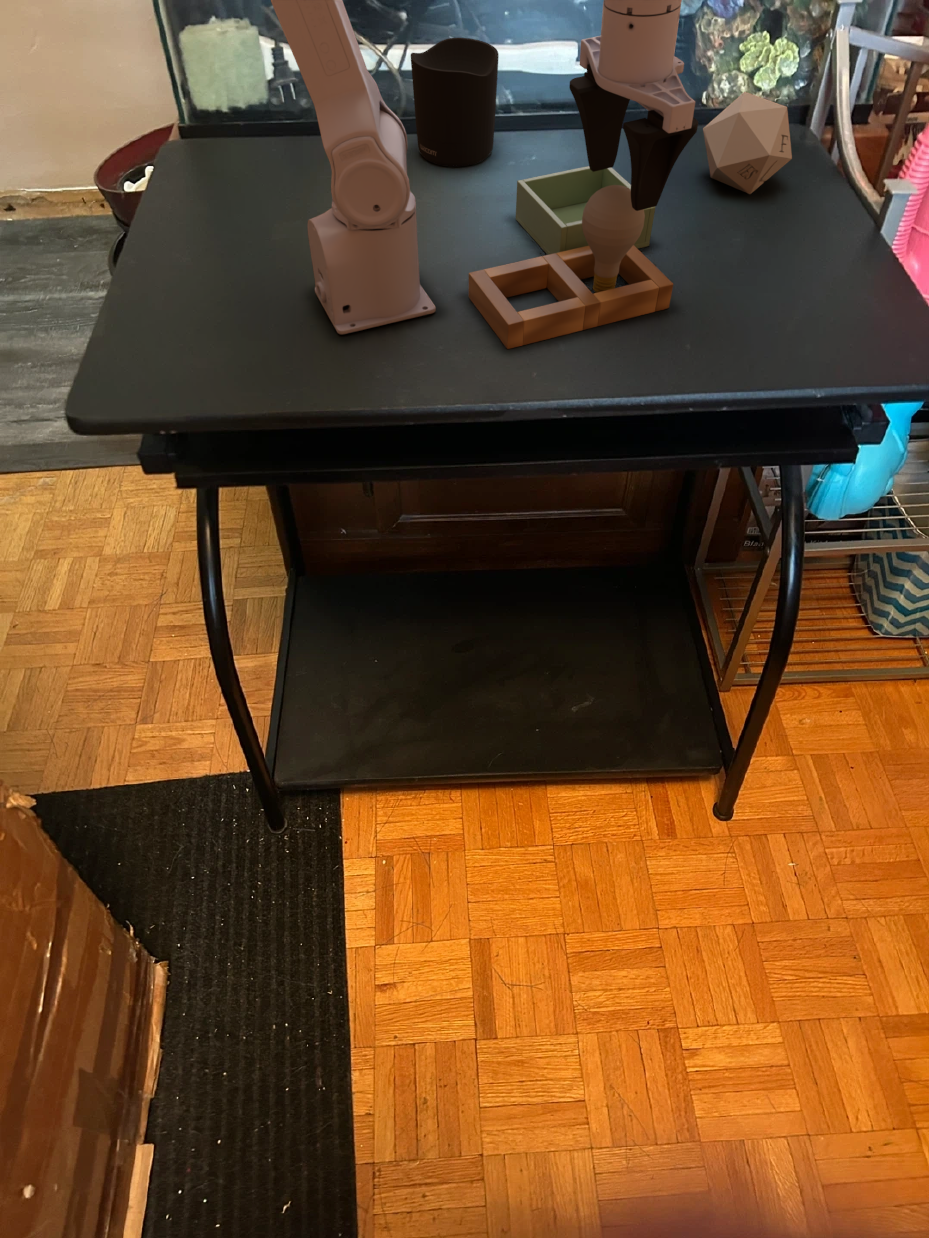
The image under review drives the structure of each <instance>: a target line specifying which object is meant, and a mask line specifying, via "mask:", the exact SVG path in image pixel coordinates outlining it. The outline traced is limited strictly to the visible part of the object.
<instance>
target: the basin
mask: <svg viewBox="0 0 929 1238" xmlns="http://www.w3.org/2000/svg"><path fill="white" fill-rule="evenodd" d="M610 185H621V186H625V187H627V188H629V189H631V183H629V181H627V180H626V179H625V178H624V177H623V176H622V175H621V174H619V173H618V172H617V171H616V170H615V168H614V167H612V168H607V169H603V170H599V171H595V172H593V171H591V170H590V167H589V165H588V166H581V167H577V168H572V169H567V170H563V171H558V172H553V173H548V174H544V175H539V176H533V177H529V178H524V179H519V180H516V200H515V201H516V202H515V220H516V221H517V222H518V224H519V225H521V227H522V228H523V229H524V230H525V231H526V232H527V233H528V235H529V236H530V237H531V238H532V240H534V241H535V243H536V244H537V245H538V246H539V247H540V248H541V249H542V250H543V251H544V253H545V255H549V254H554V253H559V252H563V251H567V250H572V249H576V248H580V247H585V246H589V245H588V243H587V241H586V238H585V236H584V233H583V228H582V216H583V211H584V208H585V206H586V204H587V202H588V200H589V199H590V197H591V196H592V195H593V194H594V193H595V192H597V191H598V190H600V189H601V188H604V187H606V186H610ZM655 212H656V206H655V207H651V208H647V209H644V214H645V219H644V226H643V229H642V232H641V234H640V237H639V238H638V240H637V241H636V242H635V244H634V246H635V247H636V248H637V249H638V250H639V249H642V248H646V247H649V246H650V243H651V242H650V241H651V238H652V237H651V236H652V229H653V226H654V225H653V223H654V218H655V214H656V213H655Z"/></svg>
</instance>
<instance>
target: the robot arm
mask: <svg viewBox="0 0 929 1238" xmlns="http://www.w3.org/2000/svg"><path fill="white" fill-rule="evenodd" d="M682 2H683V0H603V1H602V11H601V12H602V13H601V25H600V26H601V27H600V28H601V29H600V35H597V36H593V37H588V38H582V39H581V40H580V51H579V66H580V67H581V68H583V69H584V70H586V71H585V72H584V74H583V76H582V75H581V76H577V77H574V78H571V80H570V81H569V90H570V92H571V95H572V97H573V99H574V102H575V105H576V107H577V110H578V114H579V117H580V121H581V125H582V130H583V137H584V143H585V150H586V156H587V157H586V158H587V162H588V166H589V167H590V170H591V171H593V172H595V171H599V170H603V169H607V168H614V166H615V163H616V160H617V158H618V157H617V156H618V152H619V146H620V142H621V141H620V140H621V136H622V135H621V134H622V130H623V132H624V135H625V138H626V141H627V145H628V151H629V157H630V169H631V170H630V185H631V203H632V208H633V209H634V210H636V211H639V210H643V209H647V208H651V207H655V208H656V207H657V206H658V203H659V201H660V199H661V197H662V193H663V191H664V188H665V186H666V185H667V181H668V179H669V176H670V174H671V172H672V170H673V168H674V166H675V164H676V162H677V160H678V159H679V157H680V155H681V153H682V152H683V151H684V150H685V148H686V146H687V145H688V143H689V142H690V141H691V139H692V138H693V137H694V136H695V135H696V133H697V132H698V127H699V121H698V119H697V118H695V117H694V113H695V106H696V100H694V99H693V98H692V97H691V96H690V95H689V94H688V93H687V91H686V89H685V87H684V85H683V84H682V80H681V79H680V76H679V75H680V74H682V73H683V72H684V67H685V62H684V61H683V60H682V59H680V58H679V57H677V56H675V51H676V45H677V38H678V37H677V36H678V29H679V24H680V23H679V21H680V16H681V8H682ZM270 4H271V5H272V7H273V10H274V12H275V15H276V17H277V20H278V22H279V24H280V27H281V29H282V32H283V34H284V36H285V38H286V41H287V43H288V46H289V48H290V50H291V52H292V55H293V58H294V60H295V62H296V65H297V67H298V70H299V72H300V74H301V77H302V80H303V82H304V85H305V86H306V90H307V91H308V94H309V96H310V99H311V101H312V104H313V106H314V109H315V110H314V111H315V114H316V119H317V123H318V128H319V132H320V137H321V142H322V146H323V150H324V152H325V154H326V157H327V159H328V161H329V166H330V172H331V180H330V192H331V197H332V199H331V200H332V201H331V208H329V209H328V210H326V211H324V212H323V213H321V214H318V215H316V216H314V217H311V218H308V220H307V227H306V228H307V238H308V245H309V252H310V257H311V265H312V271H313V277H314V284H315V286H314V293H315V295H316V297H317V298H318V300H319V302H320V304H321V306H322V307H323V309H324V311H325V313H326V315H327V317H328V318H329V320H330V322H331V324H332V325H333V328H334V329H335V331H336V334H339V335H347V334H351V333H355V332H359V331H363V330H367V329H372V328H376V327H380V326H385V325H388V324H393V323H398V322H402V321H406V320H410V319H414V318H418V317H422V316H423V317H424V316H427V315H431V314H434V313H436V311H437V307H436V305H435V304H434V302H433V301H432V299H431V298H430V296H429V295H428V294H427V292H426V291H425V289H424V288H423V286H422V285H421V282H420V280H421V279H420V263H419V261H420V260H419V243H418V241H419V240H418V223H417V222H418V220H417V219H418V218H417V201H416V197H415V195H414V194H413V192H412V191H411V185H410V179H409V176H408V163H407V162H408V161H407V152H408V135H407V131H406V127H405V126H404V124H403V122H402V121H401V119H400V118H399V117H398V115H397V114H396V113H395V112H394V111H393V110H391V108H390V107H388V105H387V104H386V102H385V101H384V99H383V97H382V95H381V92H380V89H379V86H378V84H377V82H376V81H375V79H374V77H373V76H372V75H371V73H370V72H369V70H368V68H367V65H366V62H365V59H364V57H363V54H362V50H361V49H360V46H359V43H358V39H357V37H356V35H355V31H354V29H353V26H352V23H351V20H350V18H349V15H348V12H347V9H346V6H345V4H344V1H343V0H270ZM630 101H633V102H636V103H637V104H639V105H640V106H642V108H644V109H646V110H647V116H646V117H644V118H642V117H641V118H638V119H634V120H630V121H625V122H624V120H625V117H626V113H627V110H628V106H629V104H630Z"/></svg>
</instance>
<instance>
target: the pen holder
mask: <svg viewBox="0 0 929 1238" xmlns="http://www.w3.org/2000/svg"><path fill="white" fill-rule="evenodd" d="M499 56H500V55H499V51H498V49H497V48H496V47H495V46H493V45H492V44H490V43H488V42H485V41H483V40H480V39H475V38H469V37H450V38H445V39H442V40H441V41H439V42H437V43H435V44H434V45H432V46H431V47H430V48H427V50H425V51H422V52H411V53H410V65H411V78H412V88H413V89H412V91H413V103H414V117H415V127H416V128H415V129H416V140H417V148H418V151H419V154H420V155H421V156H422V157H423V159H425V160H426V161H428V162H430V163H432V164H434V165H438V166H442V167H452V168H453V167H454V168H455V167H457V168H458V167H459V168H460V167H467V166H473V165H476V164H479V163H481V162H483V161H485V160H486V159H487V158H488V157H490V155H491V153H492V152H493V148H494V140H495V139H494V138H495V126H496V112H497V111H496V107H497V93H498V92H497V91H498V73H499V58H500V57H499Z"/></svg>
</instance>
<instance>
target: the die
mask: <svg viewBox="0 0 929 1238" xmlns="http://www.w3.org/2000/svg"><path fill="white" fill-rule="evenodd" d="M702 133H703V138H704V145H705V150H706V156H707V162H708V163H707V165H708V169H709V175H710V178H711V179H713V180H715V181H718V182H720V183H722V184H725V185H727V186H729V187H731V188H734V189H736V190H739V191H741V192H743V193H746V194H748V195H751V194H752V193H754V192H755V191H756V190H757V189H758V188H759V187H760V186H762V185H763V184H764V183H765V182H766V181H768V180H769V179H770V178H771V177H772V176H774V175H775V174H776V173H777V172H778V171H779V170H781V169H782V168H783V167H784V166H785V165H787V164H788V163H789V162H790V161H791V160H792V159H793V154H792V144H791V133H790V124H789V111H788V107H787V106H786V105H783V104H780V103H777V102H774V101H772V100H769V99H767V98H764V97H761V96H758V95H755V94H753V93H750V92H747V91H744V92H742V93H741V94H740V95H738V97H737V98H736V99H734V100H733V101H732V102H731V103H730V104H729V105H728V106H727V107H726V108H724V109H723V110H722V111H721V112H720V113H719V114H718V115H717V116H715V117H714V118H713V119H712V120H710V122H709V123H707V124H706V125H705V126H704V127H703V128H702Z"/></svg>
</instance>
